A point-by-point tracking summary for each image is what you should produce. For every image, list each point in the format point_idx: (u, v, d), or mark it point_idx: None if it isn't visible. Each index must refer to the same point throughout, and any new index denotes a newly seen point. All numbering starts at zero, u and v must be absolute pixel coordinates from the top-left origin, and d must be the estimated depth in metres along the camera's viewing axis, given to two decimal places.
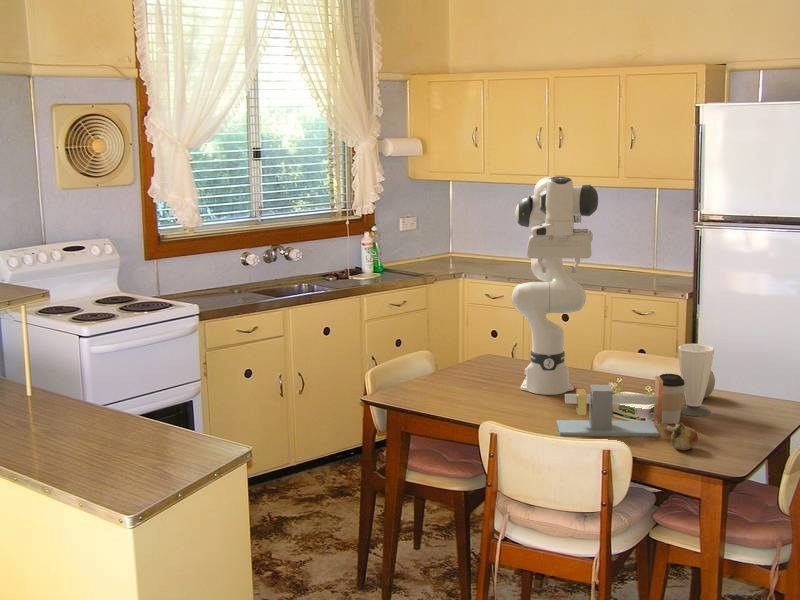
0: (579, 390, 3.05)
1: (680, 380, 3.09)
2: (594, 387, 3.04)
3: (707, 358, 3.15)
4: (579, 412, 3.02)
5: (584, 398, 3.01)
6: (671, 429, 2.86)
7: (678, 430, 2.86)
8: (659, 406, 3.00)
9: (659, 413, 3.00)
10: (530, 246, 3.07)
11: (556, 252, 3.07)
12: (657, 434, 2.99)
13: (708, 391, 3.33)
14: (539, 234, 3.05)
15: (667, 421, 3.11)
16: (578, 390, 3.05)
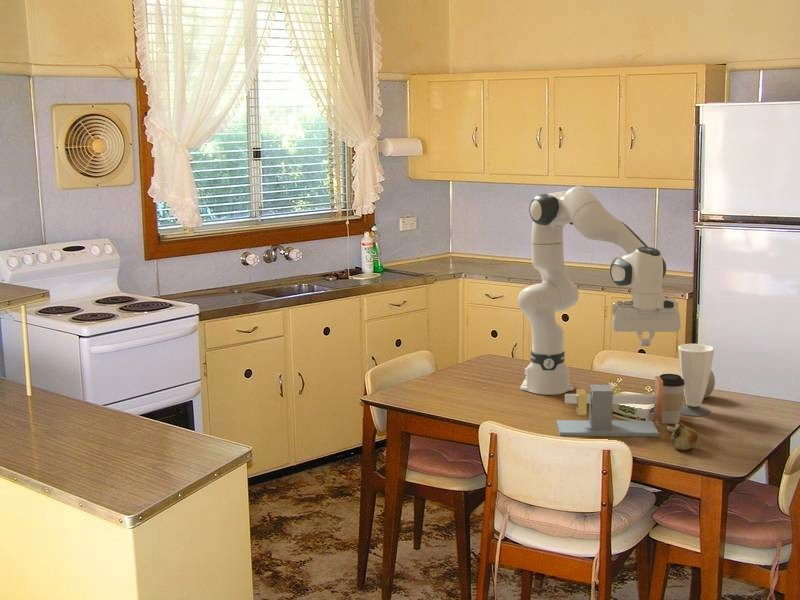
0: (579, 390, 3.05)
1: (680, 380, 3.09)
2: (594, 387, 3.04)
3: (707, 358, 3.15)
4: (579, 412, 3.02)
5: (584, 398, 3.01)
6: (671, 429, 2.86)
7: (678, 430, 2.86)
8: (659, 406, 3.00)
9: (659, 413, 3.00)
10: None
11: None
12: (657, 434, 2.99)
13: (708, 391, 3.33)
14: None
15: (667, 421, 3.11)
16: (578, 390, 3.05)
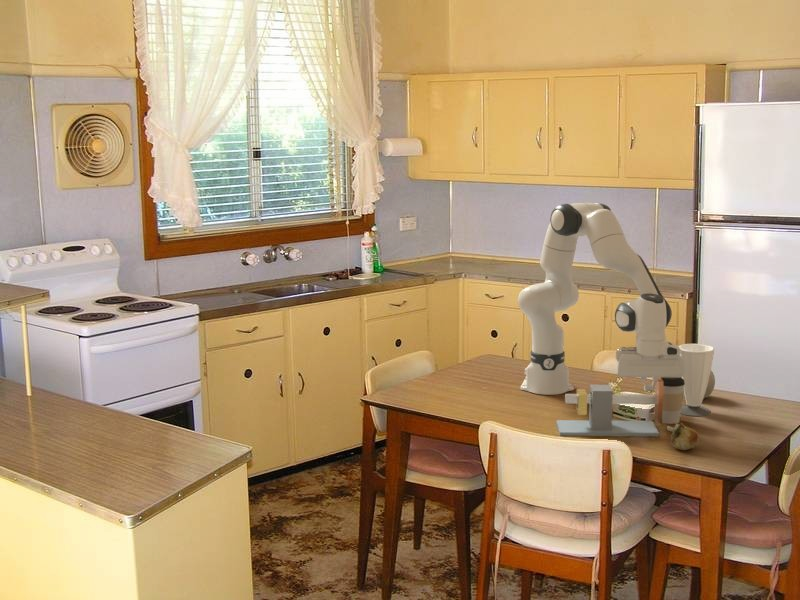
0: (579, 390, 3.05)
1: (680, 380, 3.09)
2: (594, 387, 3.04)
3: (707, 358, 3.15)
4: (579, 412, 3.02)
5: (584, 398, 3.01)
6: (671, 429, 2.86)
7: (678, 430, 2.86)
8: (659, 406, 3.00)
9: (659, 413, 3.00)
10: None
11: None
12: (657, 434, 2.99)
13: (708, 391, 3.33)
14: None
15: (667, 421, 3.11)
16: (578, 390, 3.05)
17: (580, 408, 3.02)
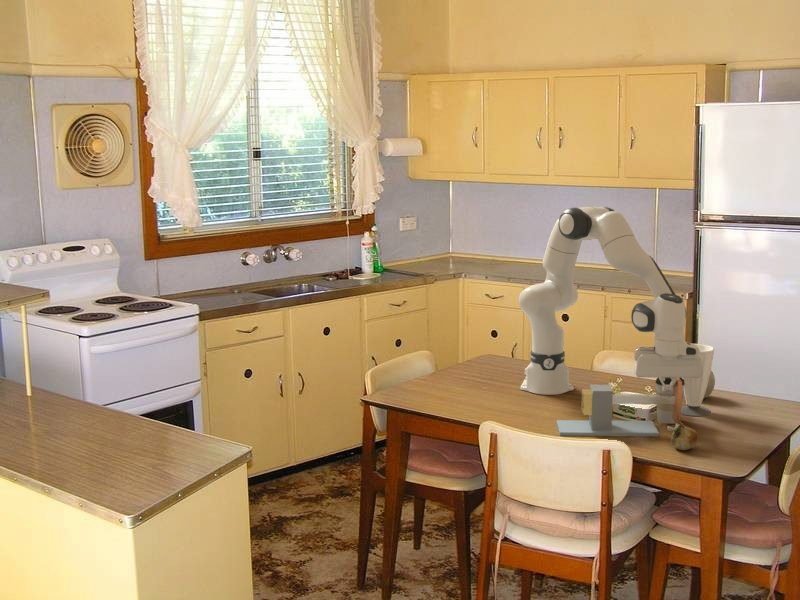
0: (585, 390, 3.05)
1: None
2: (594, 387, 3.04)
3: (707, 358, 3.15)
4: (585, 412, 3.02)
5: (590, 398, 3.01)
6: (671, 429, 2.86)
7: (678, 430, 2.86)
8: (678, 406, 3.00)
9: (678, 413, 3.00)
10: None
11: None
12: (657, 434, 2.99)
13: (708, 391, 3.33)
14: None
15: (667, 421, 3.11)
16: (584, 390, 3.05)
17: (585, 408, 3.02)
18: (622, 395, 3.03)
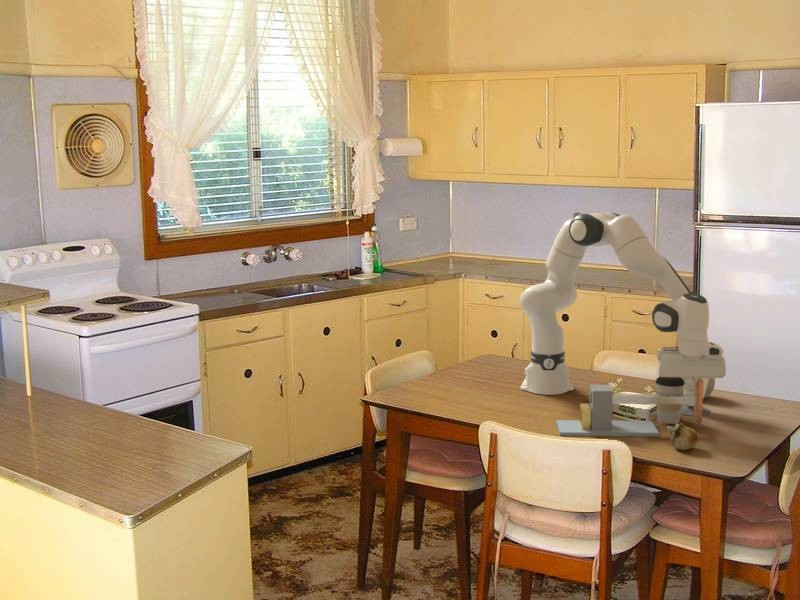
0: (583, 404, 3.06)
1: (680, 380, 3.09)
2: (594, 387, 3.04)
3: None
4: (583, 427, 3.03)
5: (588, 413, 3.02)
6: (671, 429, 2.86)
7: (678, 430, 2.86)
8: (699, 406, 2.99)
9: (699, 413, 2.99)
10: None
11: None
12: (657, 434, 2.99)
13: (708, 391, 3.33)
14: None
15: (667, 421, 3.11)
16: (582, 405, 3.06)
17: (583, 423, 3.03)
18: (643, 395, 3.03)
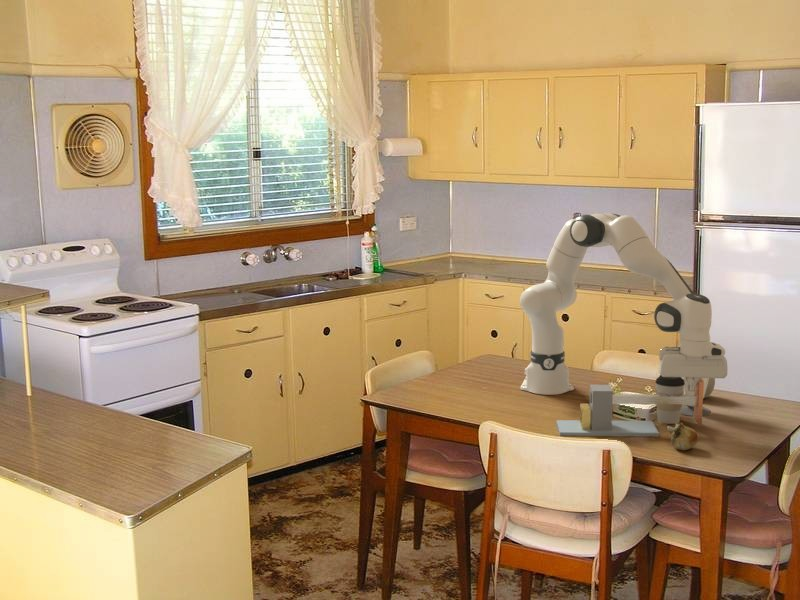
0: (583, 404, 3.06)
1: (680, 380, 3.09)
2: (594, 387, 3.04)
3: None
4: (583, 427, 3.03)
5: (588, 413, 3.02)
6: (671, 429, 2.86)
7: (678, 430, 2.86)
8: (699, 406, 2.99)
9: (699, 413, 2.99)
10: None
11: None
12: (657, 434, 2.99)
13: (708, 391, 3.33)
14: None
15: (667, 421, 3.11)
16: (582, 405, 3.06)
17: (583, 423, 3.03)
18: (643, 395, 3.03)
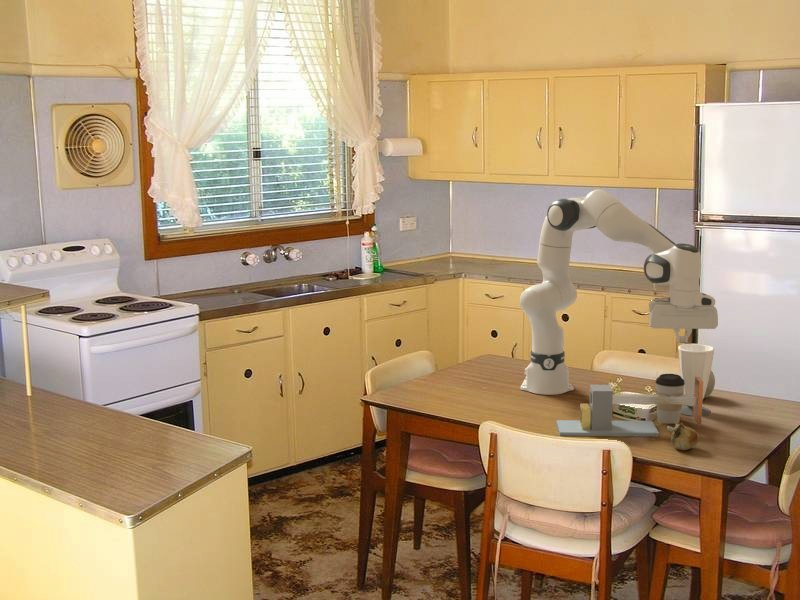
0: (583, 404, 3.06)
1: (680, 380, 3.09)
2: (594, 387, 3.04)
3: (707, 358, 3.15)
4: (583, 427, 3.03)
5: (588, 413, 3.02)
6: (671, 429, 2.86)
7: (678, 430, 2.86)
8: (699, 406, 2.99)
9: (699, 413, 2.99)
10: None
11: None
12: (657, 434, 2.99)
13: (708, 391, 3.33)
14: None
15: (667, 421, 3.11)
16: (582, 405, 3.06)
17: (583, 423, 3.03)
18: (643, 395, 3.03)
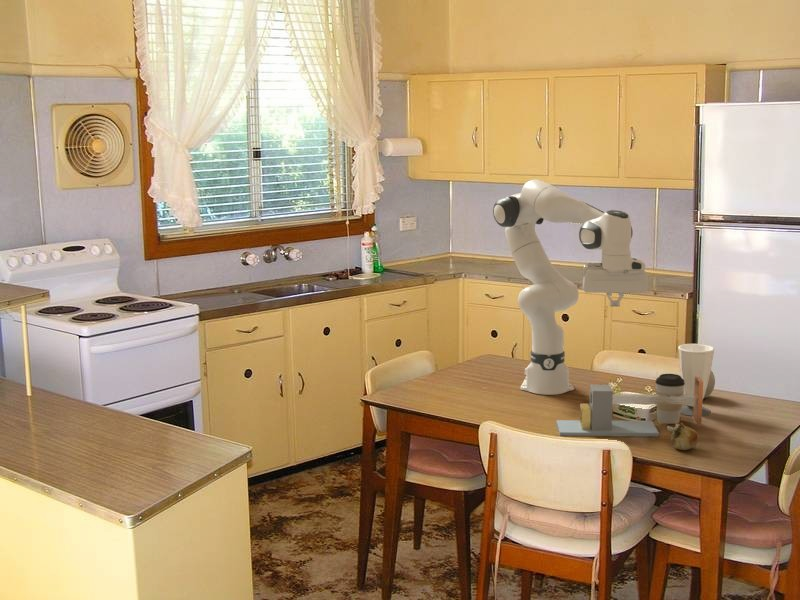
0: (583, 404, 3.06)
1: (680, 380, 3.09)
2: (594, 387, 3.04)
3: (707, 358, 3.15)
4: (583, 427, 3.03)
5: (588, 413, 3.02)
6: (671, 429, 2.86)
7: (678, 430, 2.86)
8: (699, 406, 2.99)
9: (699, 413, 2.99)
10: None
11: None
12: (657, 434, 2.99)
13: (708, 391, 3.33)
14: None
15: (667, 421, 3.11)
16: (582, 405, 3.06)
17: (583, 423, 3.03)
18: (643, 395, 3.03)
